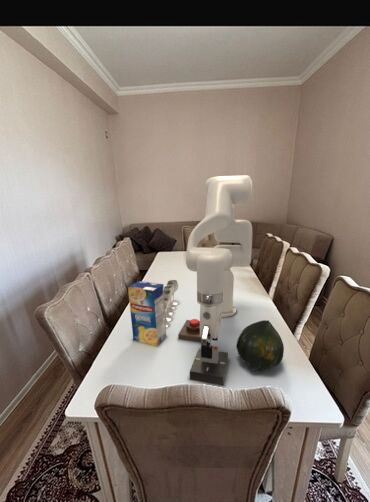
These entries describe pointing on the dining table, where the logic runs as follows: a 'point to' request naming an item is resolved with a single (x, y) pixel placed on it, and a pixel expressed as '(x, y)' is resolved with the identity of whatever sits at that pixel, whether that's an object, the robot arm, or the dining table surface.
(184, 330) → the switch block
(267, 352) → the squash
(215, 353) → the brew dial
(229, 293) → the robot arm
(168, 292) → the goblet set
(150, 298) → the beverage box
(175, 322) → the dining table surface
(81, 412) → the dining table surface
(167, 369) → the dining table surface
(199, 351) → the control panel
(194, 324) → the power button
